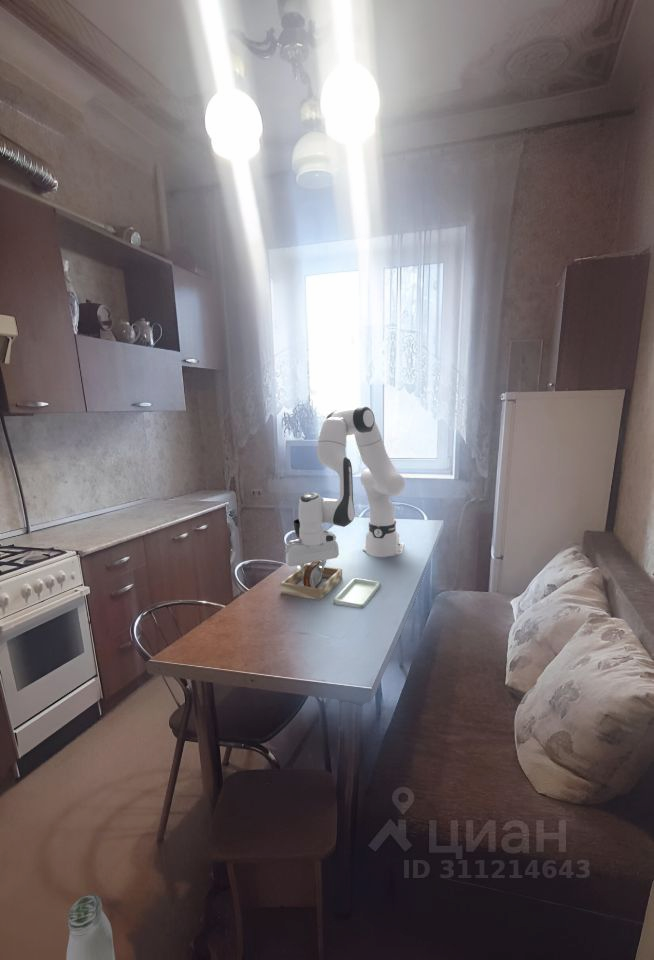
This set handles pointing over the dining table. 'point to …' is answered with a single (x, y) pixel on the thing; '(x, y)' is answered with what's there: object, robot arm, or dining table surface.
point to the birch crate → (310, 592)
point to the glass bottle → (89, 931)
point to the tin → (312, 575)
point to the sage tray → (357, 593)
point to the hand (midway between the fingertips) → (313, 572)
